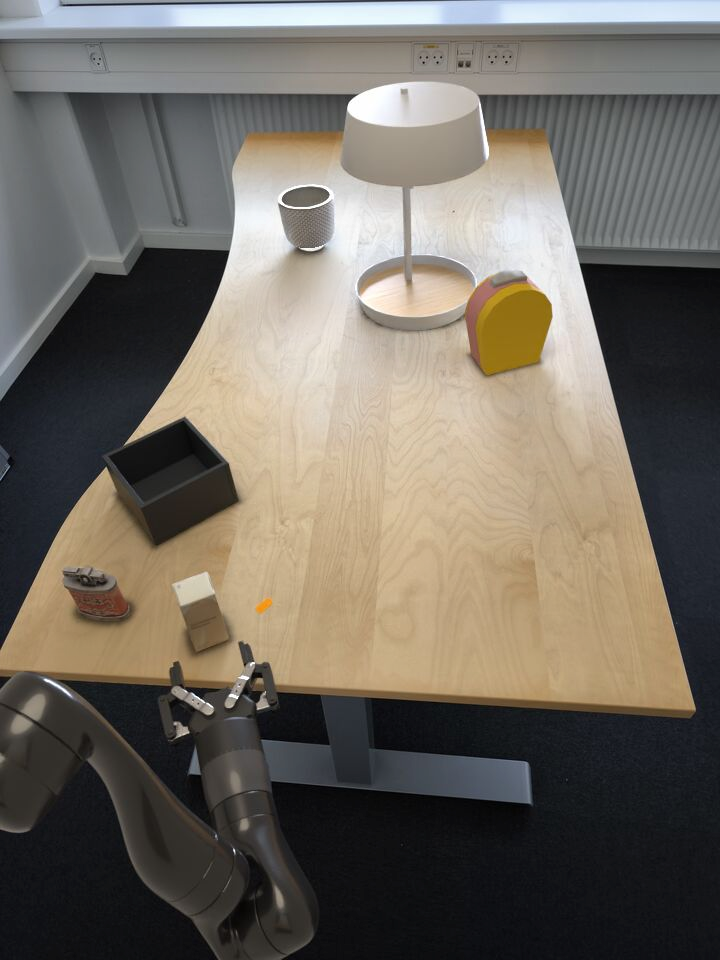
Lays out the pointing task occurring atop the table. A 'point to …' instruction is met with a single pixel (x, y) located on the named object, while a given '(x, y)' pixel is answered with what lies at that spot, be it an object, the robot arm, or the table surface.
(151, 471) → the bin
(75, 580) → the lighter
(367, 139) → the lamp
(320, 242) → the planter
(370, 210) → the table surface
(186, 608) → the box
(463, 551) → the table surface
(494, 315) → the alarm clock
